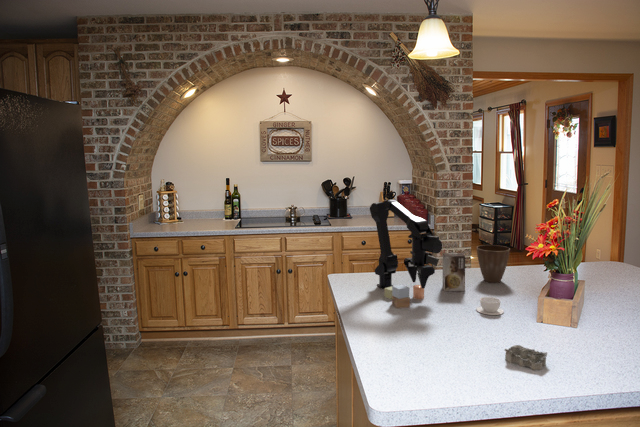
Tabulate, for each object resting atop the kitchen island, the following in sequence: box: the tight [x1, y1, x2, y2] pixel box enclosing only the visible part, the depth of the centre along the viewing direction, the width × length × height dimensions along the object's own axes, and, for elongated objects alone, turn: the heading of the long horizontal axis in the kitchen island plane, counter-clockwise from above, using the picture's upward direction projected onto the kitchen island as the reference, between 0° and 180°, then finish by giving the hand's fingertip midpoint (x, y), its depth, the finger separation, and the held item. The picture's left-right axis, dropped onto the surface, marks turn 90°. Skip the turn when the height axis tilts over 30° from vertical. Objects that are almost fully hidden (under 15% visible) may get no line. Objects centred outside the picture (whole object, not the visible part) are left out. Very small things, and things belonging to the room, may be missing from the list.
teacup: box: [475, 296, 505, 316], centre depth 178 cm, size 10×10×5 cm
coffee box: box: [442, 252, 466, 292], centre depth 207 cm, size 9×6×16 cm
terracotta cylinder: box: [412, 284, 425, 300], centre depth 196 cm, size 5×5×5 cm
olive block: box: [383, 287, 392, 300], centre depth 198 cm, size 4×4×4 cm
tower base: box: [391, 295, 411, 309], centre depth 187 cm, size 6×6×4 cm
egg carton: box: [504, 344, 548, 371], centre depth 136 cm, size 11×8×4 cm
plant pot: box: [476, 244, 511, 284], centre depth 218 cm, size 15×15×16 cm
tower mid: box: [392, 284, 410, 299], centre depth 187 cm, size 5×5×4 cm
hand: (418, 285), depth 196 cm, fingers open, 9 cm apart
